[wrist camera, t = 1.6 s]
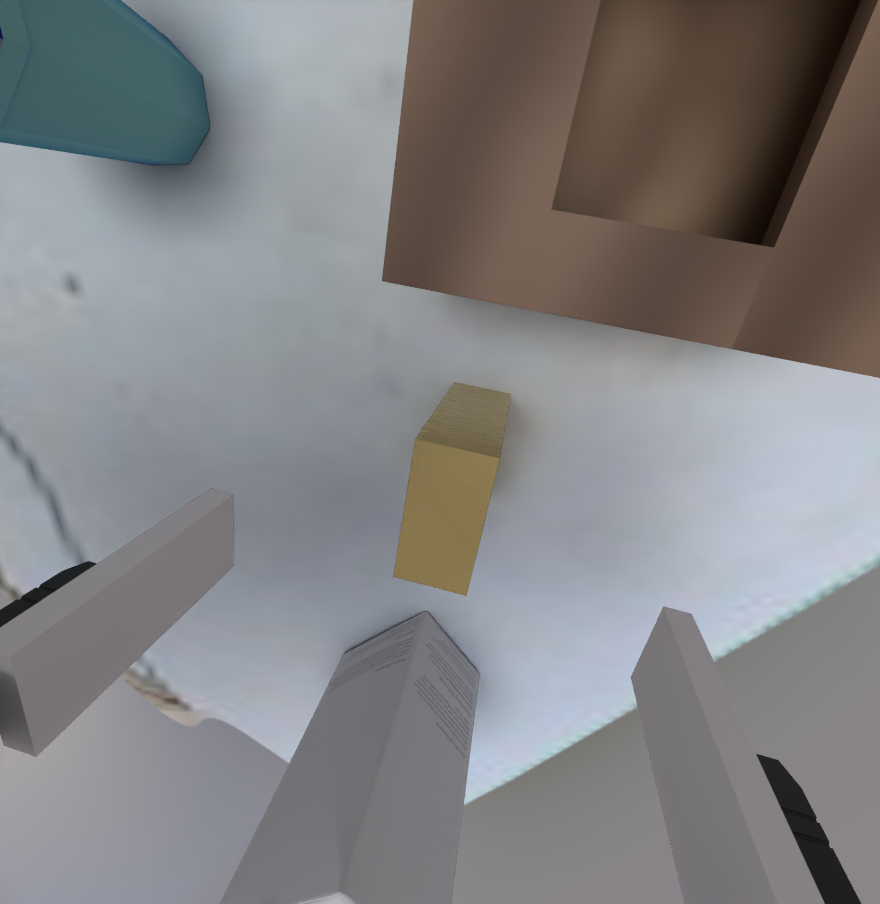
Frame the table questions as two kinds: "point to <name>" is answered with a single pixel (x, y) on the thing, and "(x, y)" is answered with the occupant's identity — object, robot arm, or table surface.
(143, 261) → the table surface
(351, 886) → the skincare box
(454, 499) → the block
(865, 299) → the coin box
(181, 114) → the cup
